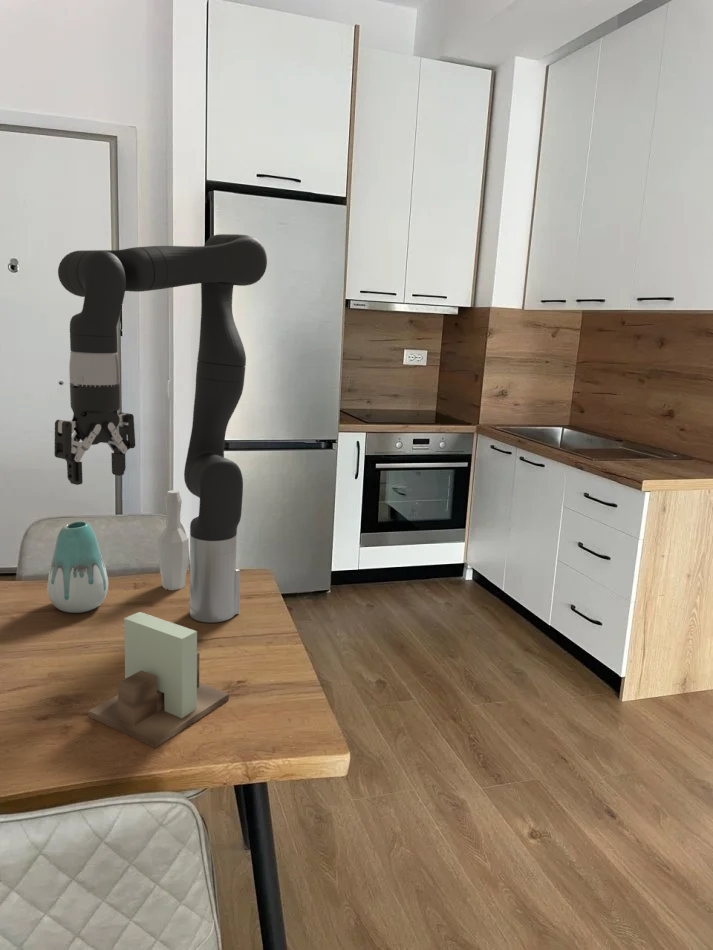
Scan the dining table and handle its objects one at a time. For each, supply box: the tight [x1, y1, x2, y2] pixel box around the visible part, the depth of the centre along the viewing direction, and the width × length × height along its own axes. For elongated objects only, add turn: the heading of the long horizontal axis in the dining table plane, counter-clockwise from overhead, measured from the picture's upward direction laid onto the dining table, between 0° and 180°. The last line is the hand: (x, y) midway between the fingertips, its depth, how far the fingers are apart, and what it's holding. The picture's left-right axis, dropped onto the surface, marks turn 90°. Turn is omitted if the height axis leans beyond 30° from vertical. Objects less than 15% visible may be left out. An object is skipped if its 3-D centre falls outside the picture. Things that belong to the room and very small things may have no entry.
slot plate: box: [88, 651, 230, 749], centre depth 112 cm, size 16×14×7 cm
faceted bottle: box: [157, 489, 190, 591], centre depth 158 cm, size 6×6×22 cm
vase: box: [46, 520, 109, 614], centre depth 146 cm, size 12×12×18 cm
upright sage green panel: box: [123, 611, 198, 718], centre depth 111 cm, size 3×12×13 cm, turn 60°
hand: (97, 479), depth 118 cm, fingers open, 8 cm apart
